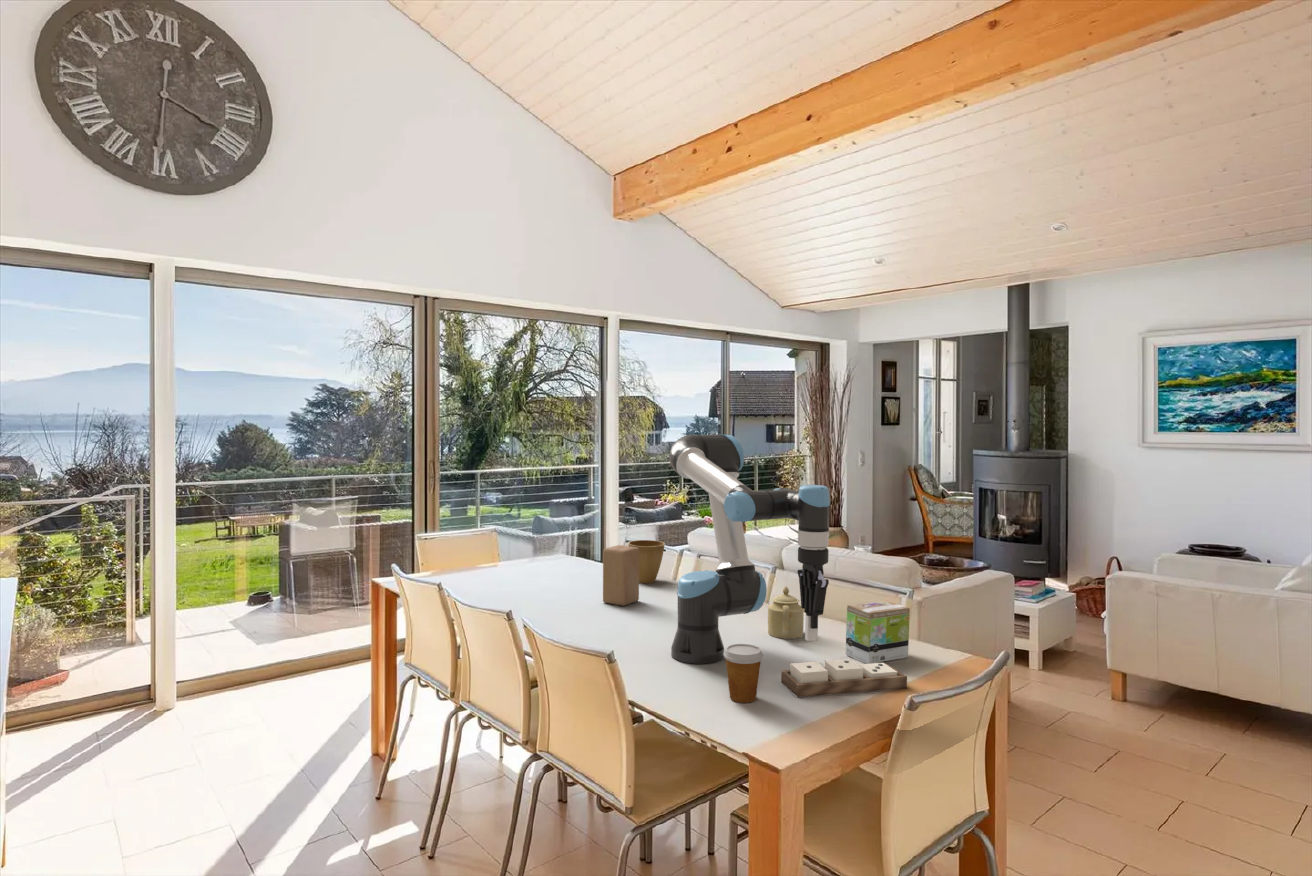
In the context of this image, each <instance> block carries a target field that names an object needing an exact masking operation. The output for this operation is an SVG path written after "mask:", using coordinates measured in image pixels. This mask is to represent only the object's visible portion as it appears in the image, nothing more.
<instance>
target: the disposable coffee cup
mask: <svg viewBox="0 0 1312 876" xmlns="http://www.w3.org/2000/svg"><path fill="white" fill-rule="evenodd" d="M763 657H764V654H763V652H762V649H761V648H760V647H759V646H756V645H755V644H749V643H734V644H729V645H727V646H726V647H725V648H724V659H725V665H726V675H727V685H728V692H729V698H730V700H731V701H733V702H735V703H740V704H748V703H753V702H755V701H756V699H757V693H758V685H759V679H760V671H761V663H762V660H763Z"/></svg>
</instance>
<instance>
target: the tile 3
mask: <svg viewBox="0 0 1312 876" xmlns="http://www.w3.org/2000/svg"><path fill="white" fill-rule="evenodd" d="M884 663H885V662H877V663H872V664H866V663H863V664H861V663H859V664H858V665H859V666H860V667H862V668H863V673H864V674H866V675H867V676H869V677H870V678H876V677H889V676H897V671H898V670H897V671H895V670H894V669H895V668H894V669H892V668H891V667H892V666H891V667H889V666H887V665H886V664H887V663H886V664H884Z"/></svg>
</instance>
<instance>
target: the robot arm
mask: <svg viewBox="0 0 1312 876" xmlns="http://www.w3.org/2000/svg"><path fill="white" fill-rule="evenodd" d="M668 458H669V462H670V465H671V467H672V469H673V471H675V473H677V474H678V475H679V476H680V477H682V478H684V479H687V480H688V479H689V480H691V481H692V482H693V483H695V484H696V485H698V486H699V487H700V488H702V489H703V490H704V491H705V492H706V493H708V498H709V499H708V500H709V505H710V511H711V516H712V517H711V518H712V524H713V531H714V536H715V543H716V550H717V555H718V561H719V564H718V566H717V567H716V569H715V571H714V570H697V571H691V572H688V573H686V574H685V573H684V574H683V575H681V577H680V578H679V579H678V584H677V591H676V592H677V593H676V594H677V627H676V632H675V635H674V639H673V641H672V645H671V648H670V649H671V651H670V654H671V655H670V656H671V657H672V659H675V660H676V661H679V662H682V663H687V664H695V665H696V664H698V665H700V664H703V665H704V664H712V663H716V662H719V661H721V660H723V659H725V656H724V652H725V647H724V643H723V639H722V637H721V633H720V629H719V618H721V617H726V616H727V617H729V616H736V615H747V614H749V613H753V612H757V611H759V610H760V609H761V608H762V607H763V605H764V602H766V599H767V594H768V593H767V592H768V591H767V582H766V579H765V577H764V575H763V574H762V572H760V571H758V570H756V567H755V564H754V563H753V562H752V561H751V560H750V559H749V555H748V551H747V544H746V538H745V531H744V526H743V523H746V522H752V521H753V522H754V521H755V522H756V521H767V520H781V519H783V520H785V519H789V520H790V519H791V520H796V521H798V529H797V545H798V546H799V547H798V548H797V561H798V563H800V564H802V569H797V575H798V581H799V594H800V606H801V607H802V609H803V612H804V613H805V624H804V625H805V629H804V631H805V632H804V633H805V635H804V639H805V641H806V642H813V641H814V642H815V641H818V639H819V638H818V637H819V636H818V634H819V616H822V615H823V614H824V610H825V602H826V596H827V589H828V586H829V582H830V581H829V579H827V578H826V579H825V577H824V575H825V573H824V572H825V571H824V565H826V564H828V563H829V549H828V547H829V543H830V542H829V539H830V536H831V535H830V532H829V531H830V529H829V528H830V507H831V500H830V498H831V497H830V489H829V487H828V486H826V485H819V484H803V485H801V486H800V487H799V488H798V490H795V489H791V488H786V487H785V488H783V487H777V488H774V489H773V490H769V489H768V490H752V489H751V488H750V487H748V486H746V485H745V484H744V483H742V482H741V481H739V480H738V478H739V476H740V471H741V470H742V468H743V466H744V464H745V463H744V461H745V451H744V448H743V446H742V444H741V442H740V441H739V439H738V438H736V437H735V436H734V435H731V434H722V433H718V434H713V433H712V434H688V435H683V436H681V437H679V438H678V439H677V440H676V441H675V442H674V443H673V444H672V446H671V449H670V451H669V457H668Z"/></svg>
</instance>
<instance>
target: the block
mask: <svg viewBox="0 0 1312 876" xmlns="http://www.w3.org/2000/svg"><path fill="white" fill-rule="evenodd" d="M639 600H640V583H639V548H637V547H630V546H629V545H622V544H621V545H620V544H618V545H614V546H609V547H606V548H604V549H603V550H602V601H603V603H605V604H610V605H611V604H612V605H616V606H622V607H625V606H628V605H630V604H633V603H636V602H638V601H639Z"/></svg>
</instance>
